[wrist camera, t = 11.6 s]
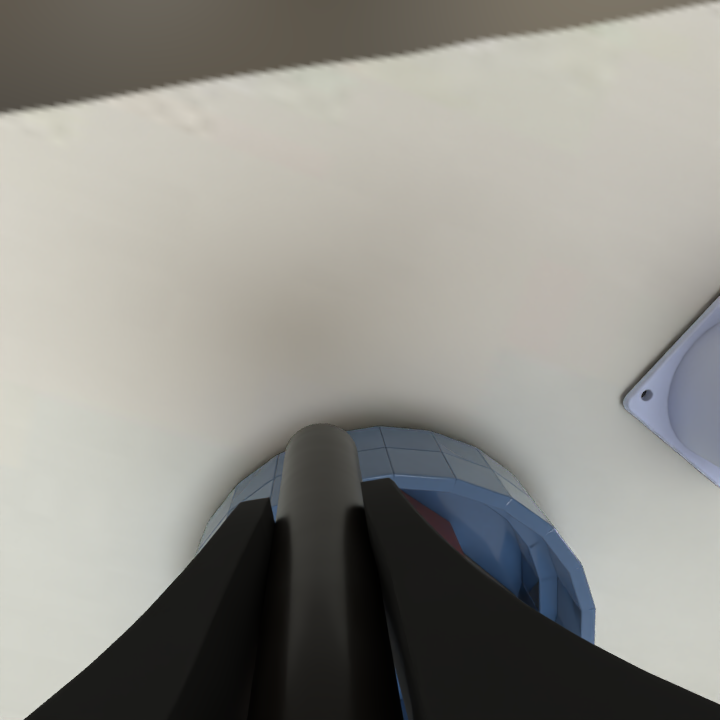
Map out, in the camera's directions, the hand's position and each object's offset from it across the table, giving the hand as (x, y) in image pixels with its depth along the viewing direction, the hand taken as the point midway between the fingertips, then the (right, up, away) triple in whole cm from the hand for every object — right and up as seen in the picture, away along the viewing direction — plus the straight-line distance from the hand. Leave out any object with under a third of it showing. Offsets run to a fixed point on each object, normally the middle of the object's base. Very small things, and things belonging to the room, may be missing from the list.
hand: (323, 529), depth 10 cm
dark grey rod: (0, +1, +3) cm, 3 cm away
